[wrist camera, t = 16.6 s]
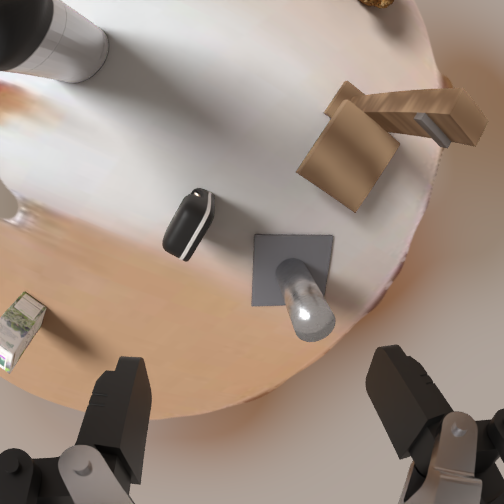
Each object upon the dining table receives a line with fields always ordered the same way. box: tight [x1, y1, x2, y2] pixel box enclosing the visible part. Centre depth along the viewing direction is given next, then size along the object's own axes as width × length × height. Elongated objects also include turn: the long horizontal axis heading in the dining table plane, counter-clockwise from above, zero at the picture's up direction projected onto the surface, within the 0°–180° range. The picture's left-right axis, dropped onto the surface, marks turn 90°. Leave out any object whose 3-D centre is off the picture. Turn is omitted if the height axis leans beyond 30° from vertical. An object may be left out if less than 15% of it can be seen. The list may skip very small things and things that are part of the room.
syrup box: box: [0, 292, 47, 373], centre depth 41 cm, size 6×6×14 cm
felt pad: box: [252, 234, 333, 306], centre depth 49 cm, size 12×12×1 cm
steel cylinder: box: [275, 258, 335, 342], centre depth 43 cm, size 5×5×14 cm
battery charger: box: [163, 188, 215, 261], centre depth 39 cm, size 7×4×11 cm, turn 148°
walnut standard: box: [296, 81, 488, 213], centre depth 31 cm, size 16×9×24 cm, turn 148°
